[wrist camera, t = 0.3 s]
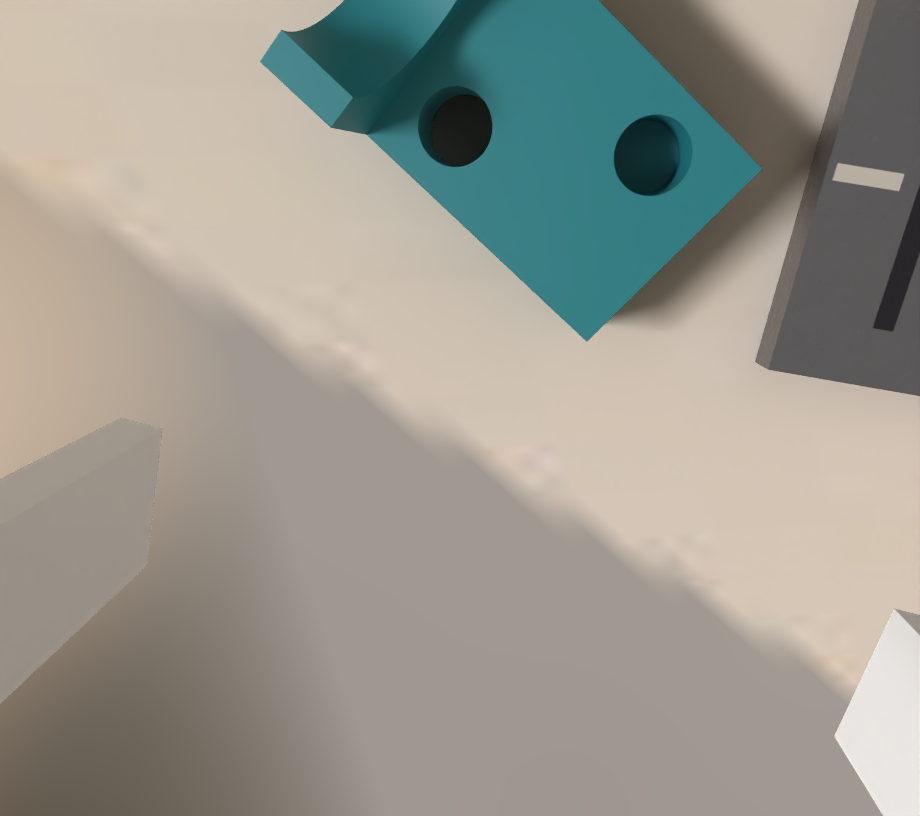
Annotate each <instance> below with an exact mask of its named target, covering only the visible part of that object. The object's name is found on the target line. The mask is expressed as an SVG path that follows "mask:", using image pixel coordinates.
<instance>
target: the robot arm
mask: <svg viewBox="0 0 920 816" xmlns="http://www.w3.org/2000/svg"><path fill="white" fill-rule="evenodd" d="M161 437H162V428H158V427H154V426H150V425H146V424H142V423H138V422H134V421H130V420H126V419H122V418H120V419H118V420H116V421H114V422H112V423H110V424H108V425H106V426H104V427H102V428H100V429H98V430H96V431H94V432H92V433H90V434H88V435H86V436H84V437H82V438H80V439H78V440H76V441H74V442H72V443H70V444H68V445H66V446H64V447H62V448H61V449H58V450H56V451H55V452H53V453H51V454H49V455H47V456H45V457H43V458H41V459H39V460H37V461H35V462H33V463H31V464H29V465H27V466H25V467H23V468H21V469H19V470H17V471H15V472H13V473H11V474H9V475H7V476H5V477H3V478H1V479H0V703H2V702H3V700H5V699H6V698H7V697H8V696H9V695H10V694H11V693H12V692H13V691H14V690H15V689H16V688H17V687H18V686H20V685H21V684H22V683H23V682H24V681H25V680H26V679H27V678H28V677H29V676H30V675H31V674H32V673H33V672H34V671H35V670H36V669H38V668H39V667H40V666H41V665H42V664H43V663H44V662H45V661H46V660H47V659H48V658H49V657H50V656H51V655H52V654H53V653H54V652H55V651H56V650H58V649H59V648H60V647H61V646H62V645H63V644H64V643H65V642H66V641H67V640H68V639H69V638H70V637H71V636H72V635H74V633H76V632H77V631H78V630H79V629H80V628H81V627H82V626H83V625H84V624H85V623H86V622H87V621H88V620H89V619H90V618H92V617H93V616H94V615H95V614H96V612H98V611H99V610H100V609H101V608H102V607H103V606H104V605H105V604H106V603H107V602H109V601H110V600H111V599H112V598H113V597H114V596H115V595H116V594H117V593H118V592H119V591H120V590H121V589H122V588H123V587H124V586H125V585H127V583H129V582H130V581H131V580H132V579H133V578H134V577H135V576H136V575H137V574H138V573H139V572H140V571H141V570H142V569H143V568H145V567H146V566H147V558H148V550H149V542H150V533H151V524H152V515H153V507H154V498H155V489H156V480H157V472H158V462H159V454H160V446H161ZM835 738H836V740H837V742H838V743H839V745H840V746H841V748H842V750H843V751H844V753H845V754H846V756H847V758H848V759H849V761H850V762H851V764H852V766H853V767H854V769H855V771H856V772H857V774H858V776H859V777H860V779H861V780H862V782H863V784H864V785H865V787H866V788H867V790H868V792H869V793H870V795H871V796H872V798H873V800H874V801H875V803H876V805H877V806H878V808H879V810H880V811H881V813H882V814H883V816H920V615H917V614H913V613H909V612H905V611H901V610H897V609H894V610H893V612H892V614H891V617H890V619H889V621H888V623H887V625H886V627H885V629H884V632H883V634H882V636H881V638H880V640H879V642H878V644H877V646H876V649H875V651H874V653H873V655H872V657H871V659H870V661H869V664H868V666H867V668H866V670H865V672H864V674H863V676H862V679H861V681H860V683H859V685H858V687H857V689H856V691H855V693H854V696H853V698H852V700H851V702H850V704H849V706H848V708H847V711H846V713H845V715H844V717H843V719H842V721H841V723H840V726H839V728H838V730H837V732H836V734H835Z"/></svg>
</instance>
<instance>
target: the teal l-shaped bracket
mask: <svg viewBox="0 0 920 816" xmlns="http://www.w3.org/2000/svg"><path fill="white" fill-rule="evenodd" d="M260 62H261V63H262V64H263V65H264V66H265V67H266V68H268V69H269V70H270V71H271V72H272V73H273V74H274V75H275V76H276V77H277V78H278V79H279V80H280V81H281V82H283V83H284V84H285V85H286V86H287V87H288V88H289V89H290V90H291V91H292V92H293V93H294V94H295V95H296V96H298V97H299V98H300V99H301V100H302V101H303V102H304V103H305V104H306V105H307V106H308V107H309V108H310V109H311V110H313V111H314V112H315V113H316V114H317V115H318V116H319V117H320V118H321V119H322V120H323V121H324V122H325V123H326V124H328V125H329V126H330V127H331V128H336V129H341V130H346V131H351V132H356V133H361V134H366V135H367V136H369V137H370V138H371V139H372V140H373V141H374V142H375V143H376V144H377V145H378V146H379V147H380V148H381V149H382V150H383V151H384V152H386V153H387V154H388V155H389V156H390V157H391V158H392V159H393V160H394V161H395V162H396V163H397V164H398V165H399V166H400V167H402V168H403V169H404V170H405V171H406V172H407V173H408V174H409V175H410V176H411V177H412V178H413V179H414V180H415V181H416V182H417V183H419V184H420V185H421V186H422V187H423V188H424V189H425V190H426V191H427V192H428V193H429V194H430V195H431V196H432V197H433V198H435V199H436V200H437V201H438V202H439V203H440V204H441V205H442V206H443V207H444V208H445V209H446V210H447V211H448V212H449V213H450V214H452V215H453V216H454V217H455V218H456V219H457V220H458V221H459V222H460V223H461V224H462V225H463V226H464V227H465V228H466V229H468V230H469V231H470V232H471V233H472V234H473V235H474V236H475V237H476V238H477V239H478V240H479V241H480V242H481V243H482V244H483V245H485V246H486V247H487V248H488V249H489V250H490V251H491V252H492V253H493V254H494V255H495V256H496V257H497V258H498V259H499V260H500V261H502V262H503V263H504V264H505V265H506V266H507V267H508V268H509V269H510V270H511V271H512V272H513V273H514V274H515V275H516V276H518V277H519V278H520V279H521V280H522V281H523V282H524V283H525V284H526V285H527V286H528V287H529V288H530V289H531V290H532V291H533V292H535V293H536V294H537V295H538V296H539V297H540V298H541V299H542V300H543V301H544V302H545V303H546V304H547V305H548V306H549V307H551V308H552V309H553V310H554V311H555V312H556V313H557V314H558V315H559V316H560V317H561V318H562V319H563V320H564V321H565V322H566V323H568V324H569V325H570V326H571V327H572V328H573V329H574V330H575V331H576V332H577V333H578V334H579V335H580V336H581V337H582V338H584V339H585V340H586V341H588V340H589V339H590V338H591V337H592V336H593V335H594V334H595V333H596V332H597V331H598V330H599V329H600V328H601V327H602V326H603V325H604V324H605V323H606V322H607V321H608V320H609V319H610V318H611V317H612V316H613V315H614V314H616V313H617V312H618V311H619V310H620V309H621V308H622V307H623V306H624V305H625V304H626V303H627V302H628V301H629V300H630V299H631V298H632V297H633V296H634V295H635V294H636V293H637V292H638V291H639V290H640V289H641V288H642V287H643V286H644V285H645V284H646V283H647V282H648V281H649V280H650V279H651V278H652V277H653V276H654V275H655V274H656V273H657V272H658V271H659V270H660V269H661V268H662V267H663V266H664V265H665V264H666V263H667V262H668V261H669V260H670V259H671V258H672V257H673V256H674V255H675V254H676V253H677V252H679V251H680V250H681V249H682V248H683V247H684V246H685V245H686V244H687V243H688V242H689V241H690V240H691V239H692V238H693V237H694V236H695V235H696V234H697V233H698V232H699V231H700V230H701V229H702V228H703V227H704V226H705V225H706V224H707V223H708V222H709V221H710V220H711V219H712V218H713V217H714V216H715V215H716V214H717V213H718V212H719V211H720V210H721V209H722V208H723V207H724V206H725V205H726V204H727V203H728V202H729V201H730V200H731V199H732V198H733V197H734V196H735V195H736V194H737V193H738V192H739V191H740V190H742V189H743V188H744V187H745V186H746V185H747V184H748V183H749V182H750V181H751V180H752V179H753V178H754V177H755V176H756V175H757V174H758V173H759V172H760V171H761V170H762V168H761V167H760V166H759V165H758V164H757V163H756V162H755V161H754V160H753V159H752V158H751V157H750V155H749V154H748V153H747V152H746V151H745V150H744V149H743V148H742V147H741V146H740V145H739V144H738V143H737V142H736V141H735V140H734V139H733V138H732V137H731V136H730V135H729V134H728V133H727V132H726V131H725V130H724V129H723V128H722V127H721V126H720V125H719V124H718V123H717V122H716V121H715V120H714V119H713V117H712V116H711V115H710V114H709V113H708V112H707V111H706V110H705V109H704V108H703V107H702V106H701V105H700V104H699V103H698V102H697V101H696V100H695V99H694V98H693V97H692V96H691V95H690V94H689V93H688V92H687V91H686V90H685V89H684V88H683V87H682V86H681V85H680V84H679V83H678V82H677V81H676V79H675V78H674V77H673V76H672V75H671V74H670V73H669V72H668V71H667V70H666V69H665V68H664V67H663V66H662V65H661V64H660V63H659V62H658V61H657V60H656V59H655V58H654V57H653V56H652V55H651V54H650V53H649V52H648V51H647V50H646V49H645V48H644V47H643V46H642V45H641V44H640V43H639V41H638V40H637V39H636V38H635V37H634V36H633V35H632V34H631V33H630V32H629V31H628V30H627V29H626V28H625V27H624V26H623V25H622V24H621V23H620V22H619V21H618V20H617V19H616V18H615V17H614V16H613V15H612V14H611V13H610V12H609V11H608V10H607V9H606V8H605V7H604V6H603V5H602V3H601V2H600V1H599V0H344V1H343V2H342V3H341V4H340V5H339V6H338V7H337V8H336V9H335V10H334V11H332V12H331V13H330V14H329V15H328V16H326V17H325V18H324V19H322V20H321V21H319V22H318V23H316V24H314V25H312V26H311V27H309V28H306V29H304V30H300V31H296V32H287V31H283V30H281V31H280V33H279V34H278V36H277V37H276V39H275V40H274V42H273V43H272V45H271V46H270V48H269V49H268V51H267V52H266V54H265V55H264V57H263V58H262V59H261V61H260ZM458 95H473V96H476V97H479V98H481V99H482V100H484V101H485V103H486V104H487V106H488V108H489V111H490V113H491V117H492V135H491V139H490V142H489V144H488V147H487V148H486V150H485V151H484V153H483V154H482V155H481V156H480V157H479V158H478V159H477V160H475V161H474V162H472V163H470V164H468V165H465V166H461V167H457V166H454V165H451V164H449V163H448V162H446V161H445V160H444V159H443V158H442V157H441V156H440V155H439V154H438V152H437V151H436V149H435V147H434V144H433V141H432V134H431V129H432V122H433V119H434V116H435V114H436V112H437V110H438V109H439V108H440V106H441V105H442V104H443V103H444V102H446V101H447V100H448V99H450V98H452V97H454V96H458Z"/></svg>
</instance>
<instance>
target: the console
mask: <svg viewBox="0 0 920 816" xmlns="http://www.w3.org/2000/svg"><path fill="white" fill-rule="evenodd" d="M755 362H756V363H758V364H760V365H761V366H763V367H765V368H766V369H768V370H774V371H780V372H785V373H791V374H797V375H802V376H808V377H814V378H820V379H825V380H831V381H837V382H843V383H848V384H854V385H860V386H866V387H871V388H877V389H883V390H888V391H894V392H900V393H906V394H911V395H917V396H920V0H859V2H858V6H857V9H856V13H855V16H854V20H853V23H852V27H851V30H850V34H849V37H848V41H847V44H846V48H845V51H844V55H843V58H842V62H841V65H840V69H839V72H838V76H837V79H836V83H835V86H834V90H833V93H832V96H831V100H830V103H829V107H828V110H827V114H826V117H825V121H824V124H823V128H822V131H821V135H820V138H819V142H818V145H817V149H816V152H815V156H814V159H813V163H812V166H811V170H810V173H809V177H808V180H807V184H806V187H805V191H804V194H803V198H802V201H801V204H800V208H799V211H798V215H797V218H796V222H795V225H794V229H793V232H792V236H791V239H790V243H789V246H788V250H787V253H786V257H785V260H784V264H783V267H782V271H781V274H780V278H779V281H778V285H777V288H776V292H775V295H774V299H773V302H772V306H771V309H770V312H769V316H768V319H767V323H766V326H765V330H764V333H763V337H762V340H761V344H760V347H759V351H758V354H757V358H756V361H755Z"/></svg>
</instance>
